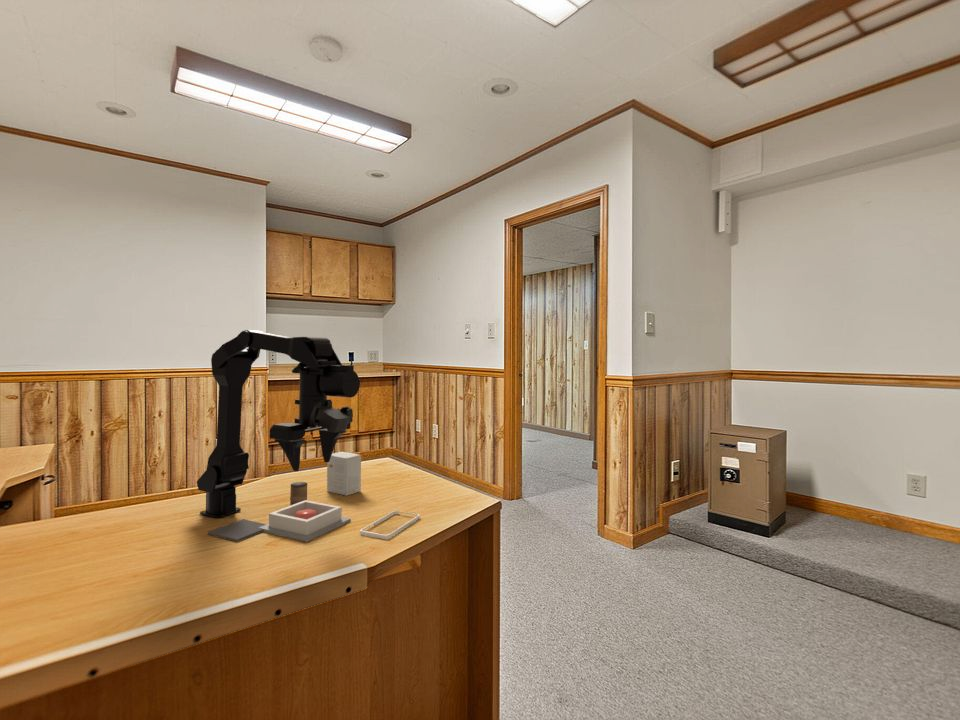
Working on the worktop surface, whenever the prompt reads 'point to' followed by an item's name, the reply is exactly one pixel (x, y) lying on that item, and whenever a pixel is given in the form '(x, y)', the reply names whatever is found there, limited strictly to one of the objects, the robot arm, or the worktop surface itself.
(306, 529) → the grey square tray
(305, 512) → the button
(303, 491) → the dowel
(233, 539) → the pad
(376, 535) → the phone case
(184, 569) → the worktop surface
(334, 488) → the small box
